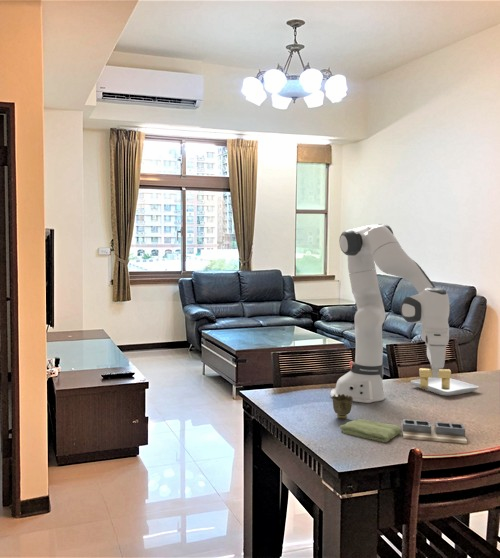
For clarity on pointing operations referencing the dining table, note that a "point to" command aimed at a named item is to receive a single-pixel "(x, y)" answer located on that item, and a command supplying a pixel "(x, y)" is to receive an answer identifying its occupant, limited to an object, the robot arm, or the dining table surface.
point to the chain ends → (439, 427)
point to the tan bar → (426, 373)
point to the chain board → (434, 436)
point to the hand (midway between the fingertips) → (434, 375)
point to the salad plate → (455, 386)
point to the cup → (342, 405)
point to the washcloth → (371, 430)
